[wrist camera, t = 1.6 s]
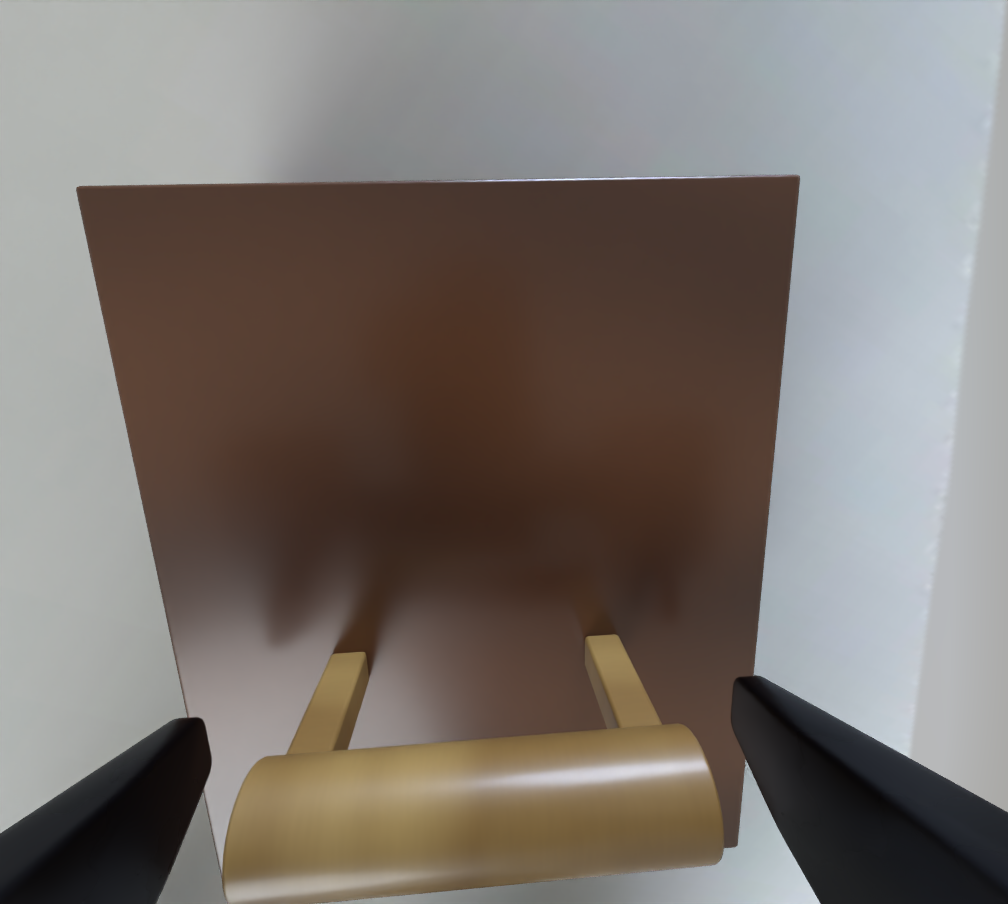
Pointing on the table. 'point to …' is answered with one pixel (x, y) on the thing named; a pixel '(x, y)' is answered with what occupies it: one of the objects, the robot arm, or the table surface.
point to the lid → (455, 512)
